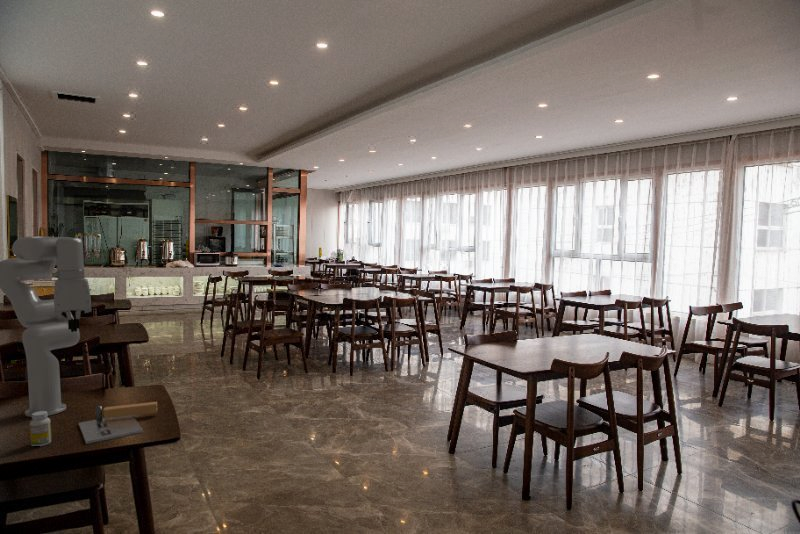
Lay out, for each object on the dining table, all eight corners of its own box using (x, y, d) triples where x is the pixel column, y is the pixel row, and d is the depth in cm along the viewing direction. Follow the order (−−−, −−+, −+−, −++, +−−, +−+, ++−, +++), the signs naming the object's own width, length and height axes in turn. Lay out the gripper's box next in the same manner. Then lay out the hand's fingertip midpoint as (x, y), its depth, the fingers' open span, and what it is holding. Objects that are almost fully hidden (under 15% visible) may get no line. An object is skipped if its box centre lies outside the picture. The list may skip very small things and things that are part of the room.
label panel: (78, 425, 182) (77, 409, 181) (131, 415, 191) (130, 399, 191) (86, 444, 166) (85, 426, 165) (143, 432, 175) (142, 415, 175)
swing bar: (103, 418, 184) (103, 410, 183) (105, 415, 186) (104, 407, 186) (156, 412, 189) (156, 404, 189) (157, 409, 192) (157, 401, 192)
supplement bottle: (44, 447, 164) (42, 416, 163) (26, 447, 164) (24, 416, 163) (55, 440, 169) (53, 410, 168) (38, 440, 169) (36, 410, 169)
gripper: (44, 277, 170) (47, 335, 171) (98, 275, 179) (101, 330, 180) (43, 276, 176) (46, 332, 177) (95, 273, 185) (98, 326, 186)
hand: (74, 331), depth 179 cm, fingers closed
